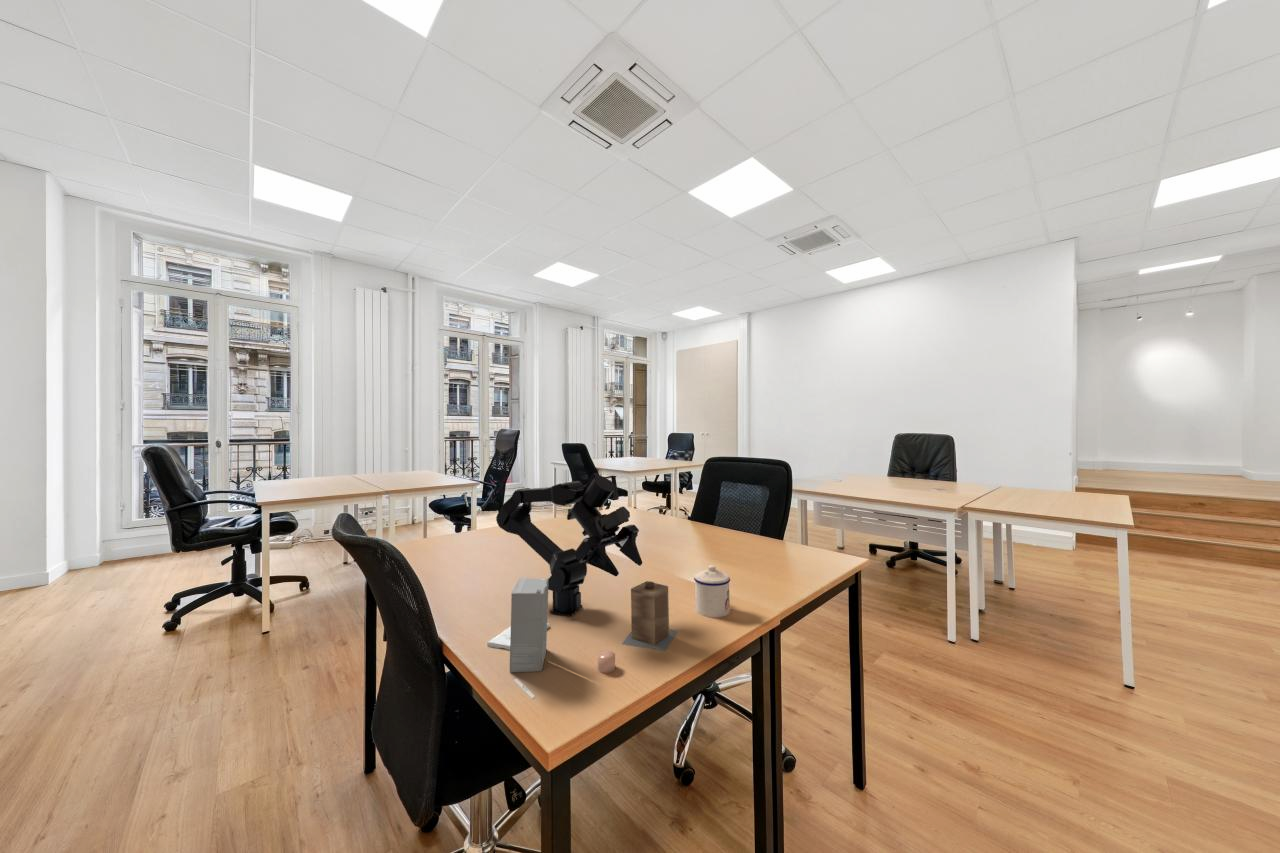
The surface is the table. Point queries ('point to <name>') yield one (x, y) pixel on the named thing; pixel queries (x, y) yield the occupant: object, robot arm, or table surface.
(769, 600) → the table surface
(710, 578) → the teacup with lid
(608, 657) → the pink small cylinder
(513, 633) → the skincare box
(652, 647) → the rubber coaster
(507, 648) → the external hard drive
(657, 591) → the brown box
